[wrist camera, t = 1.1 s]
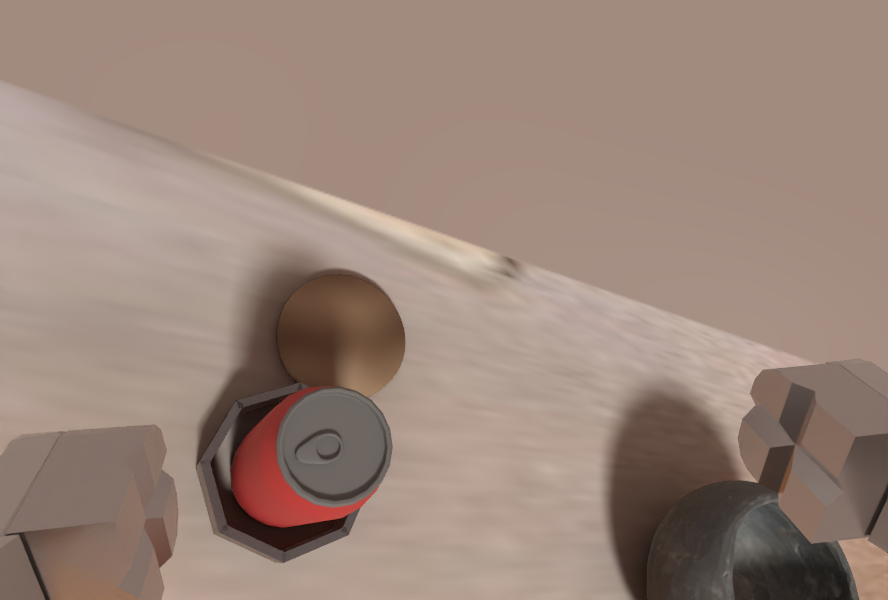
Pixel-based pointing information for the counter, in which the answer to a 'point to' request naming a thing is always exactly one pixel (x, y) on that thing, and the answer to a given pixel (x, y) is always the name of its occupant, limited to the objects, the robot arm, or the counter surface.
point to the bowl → (741, 551)
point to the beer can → (312, 458)
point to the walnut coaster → (341, 335)
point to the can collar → (213, 499)
